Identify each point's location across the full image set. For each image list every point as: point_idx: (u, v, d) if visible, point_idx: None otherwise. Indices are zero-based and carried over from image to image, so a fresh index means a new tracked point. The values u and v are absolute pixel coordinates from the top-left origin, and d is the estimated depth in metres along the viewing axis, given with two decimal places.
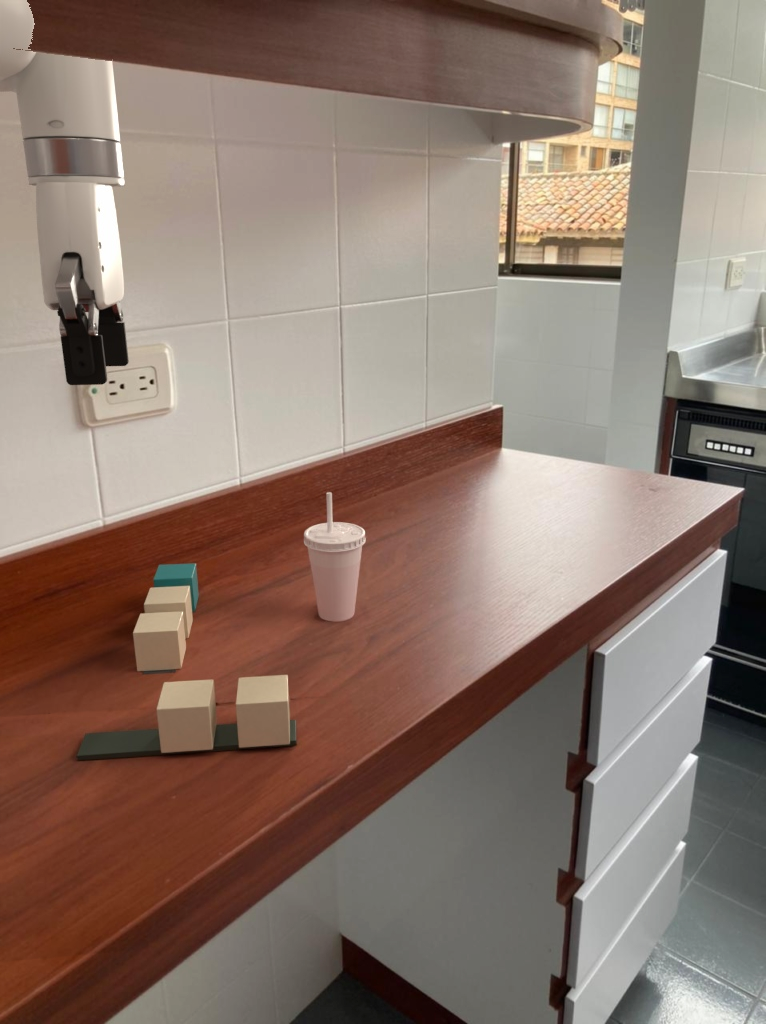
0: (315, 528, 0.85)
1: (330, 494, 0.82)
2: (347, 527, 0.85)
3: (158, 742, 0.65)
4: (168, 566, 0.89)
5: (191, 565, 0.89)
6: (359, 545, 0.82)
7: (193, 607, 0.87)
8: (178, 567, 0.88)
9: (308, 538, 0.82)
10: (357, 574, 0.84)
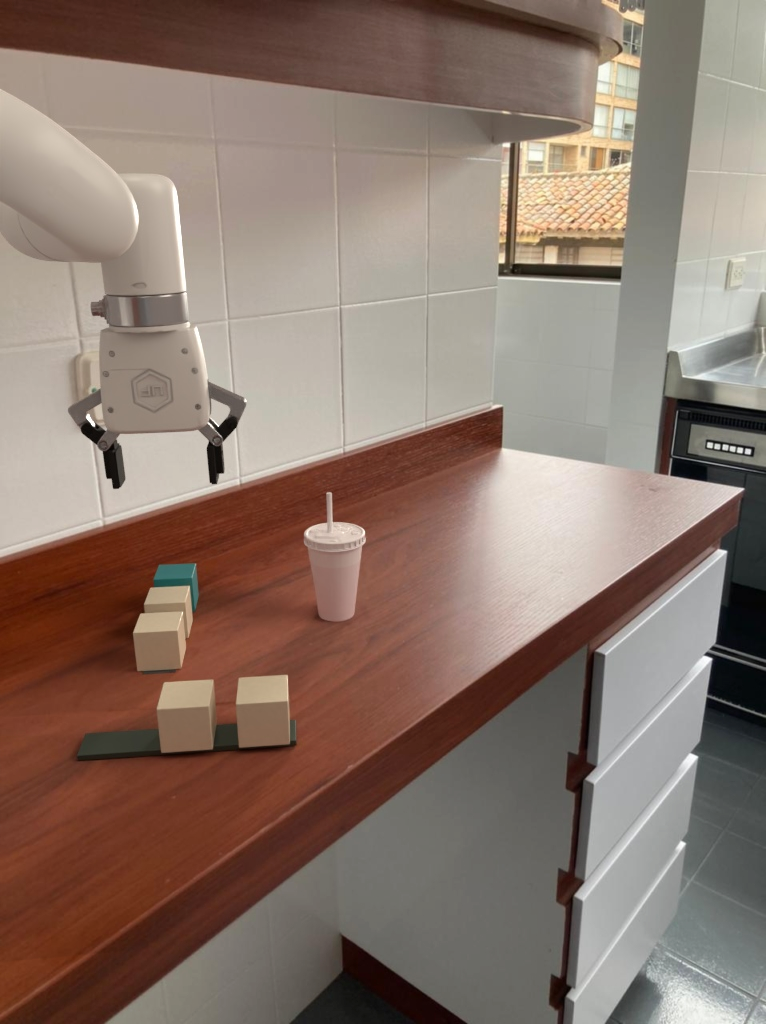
0: (315, 528, 0.85)
1: (330, 494, 0.82)
2: (347, 527, 0.85)
3: (158, 742, 0.65)
4: (168, 566, 0.89)
5: (191, 565, 0.89)
6: (359, 545, 0.82)
7: (193, 607, 0.87)
8: (178, 567, 0.88)
9: (308, 538, 0.82)
10: (357, 574, 0.84)
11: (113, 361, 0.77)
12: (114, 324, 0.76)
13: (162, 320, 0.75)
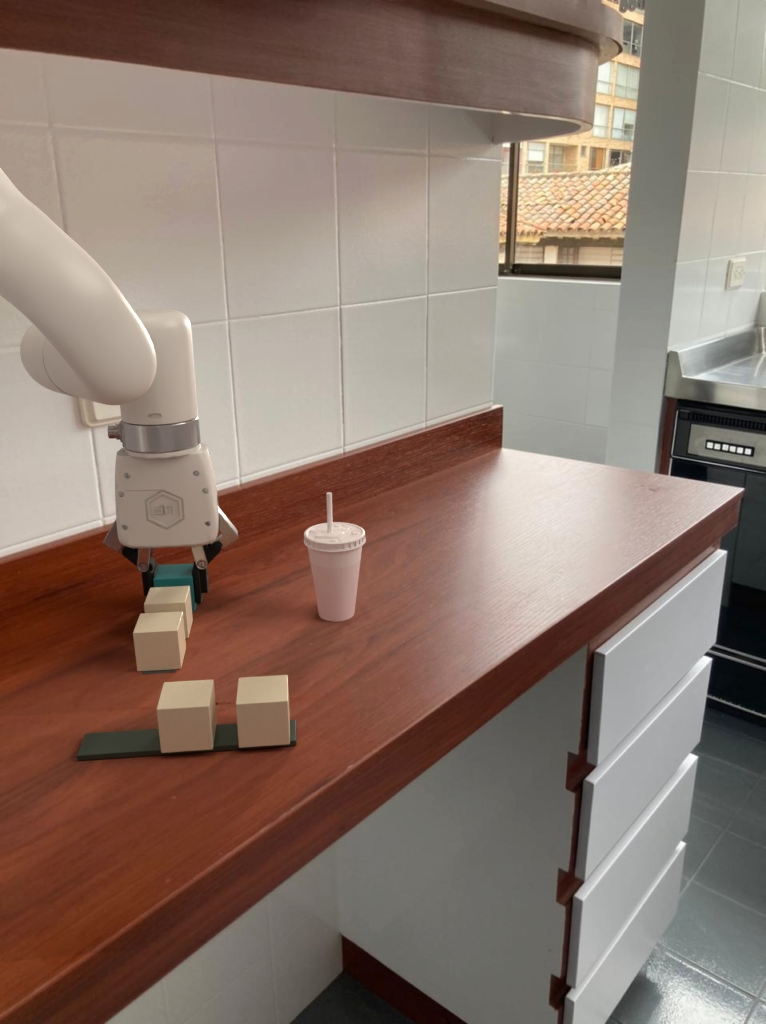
0: (315, 528, 0.85)
1: (330, 494, 0.82)
2: (347, 527, 0.85)
3: (158, 742, 0.65)
4: (168, 566, 0.89)
5: (191, 565, 0.89)
6: (359, 545, 0.82)
7: (193, 607, 0.87)
8: (178, 567, 0.88)
9: (308, 538, 0.82)
10: (358, 574, 0.84)
11: (128, 483, 0.81)
12: (130, 449, 0.80)
13: (175, 446, 0.80)
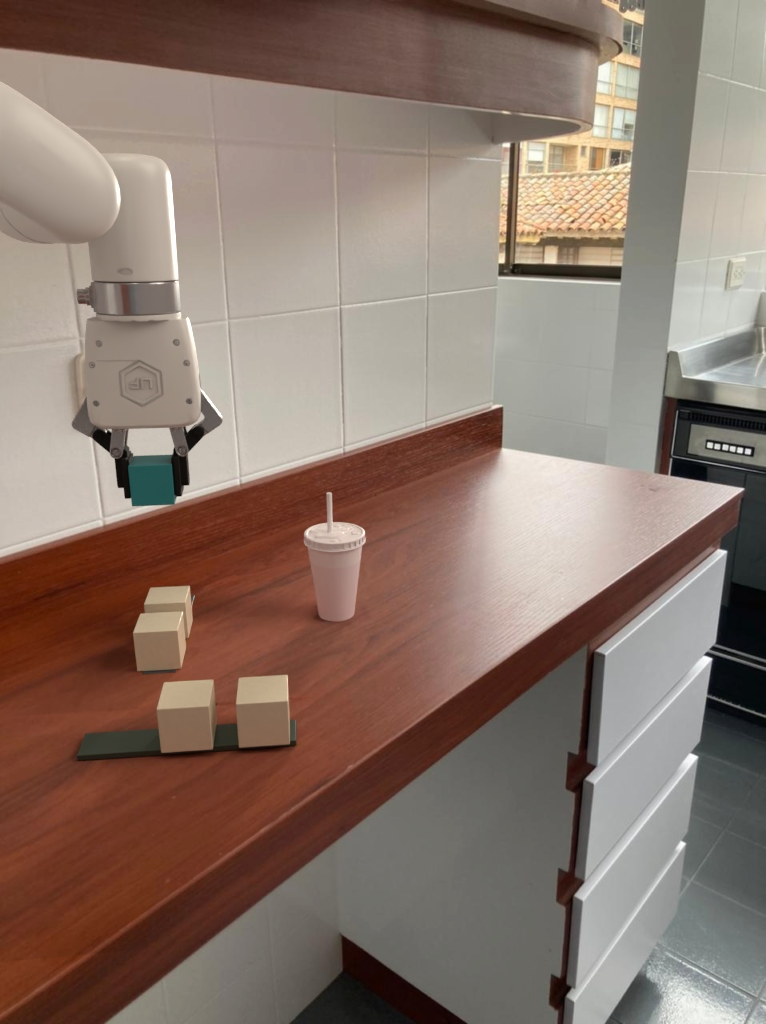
0: (315, 528, 0.85)
1: (330, 494, 0.82)
2: (347, 527, 0.85)
3: (158, 742, 0.65)
4: (144, 456, 0.80)
5: (170, 456, 0.81)
6: (359, 545, 0.82)
7: (172, 499, 0.79)
8: (156, 457, 0.80)
9: (308, 538, 0.82)
10: (357, 574, 0.84)
11: (100, 352, 0.73)
12: (102, 312, 0.72)
13: (153, 309, 0.71)
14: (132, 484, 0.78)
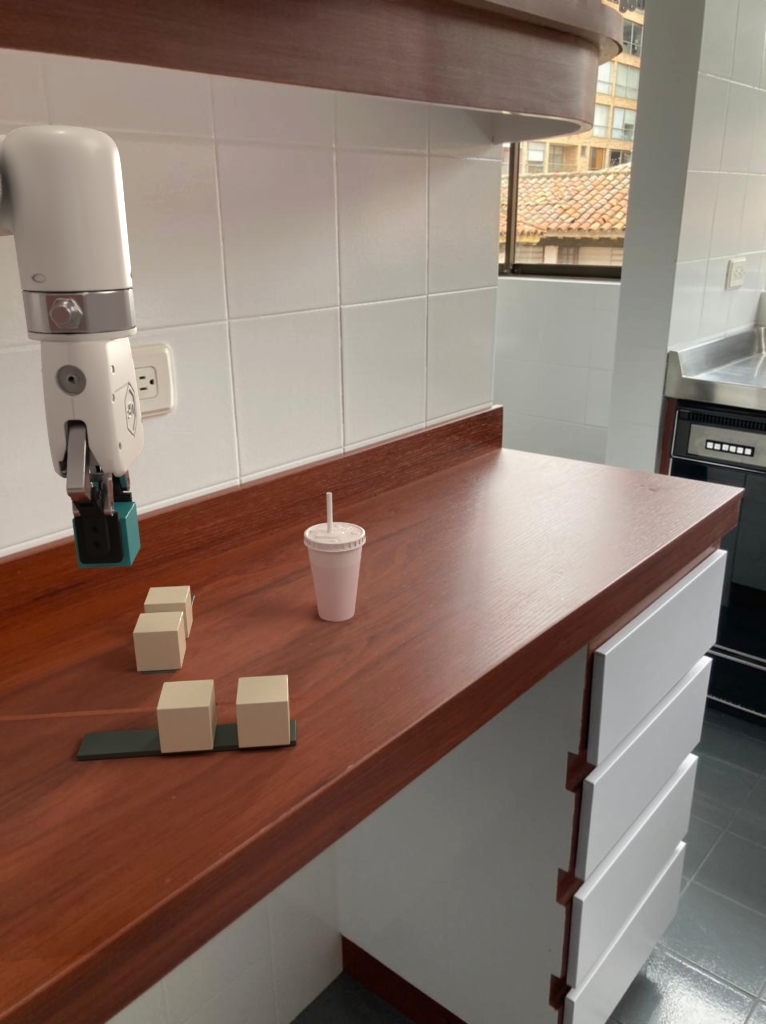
0: (315, 528, 0.85)
1: (330, 494, 0.82)
2: (347, 527, 0.85)
3: (158, 742, 0.65)
4: None
5: None
6: (359, 545, 0.82)
7: (139, 541, 0.67)
8: None
9: (308, 538, 0.82)
10: (357, 574, 0.84)
11: (115, 380, 0.57)
12: (108, 329, 0.57)
13: None
14: (128, 538, 0.63)
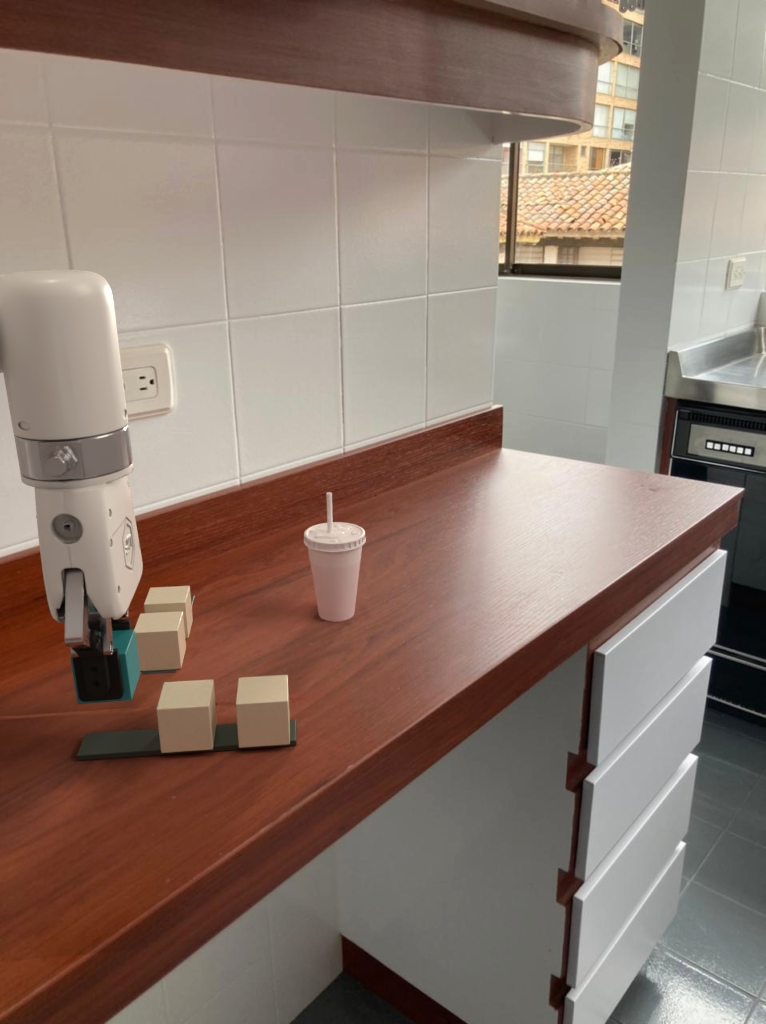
0: (315, 528, 0.85)
1: (330, 494, 0.82)
2: (347, 527, 0.85)
3: (158, 742, 0.65)
4: None
5: None
6: (359, 545, 0.82)
7: (139, 668, 0.65)
8: None
9: (308, 538, 0.82)
10: (358, 574, 0.84)
11: (112, 523, 0.56)
12: (104, 473, 0.55)
13: None
14: (128, 673, 0.61)
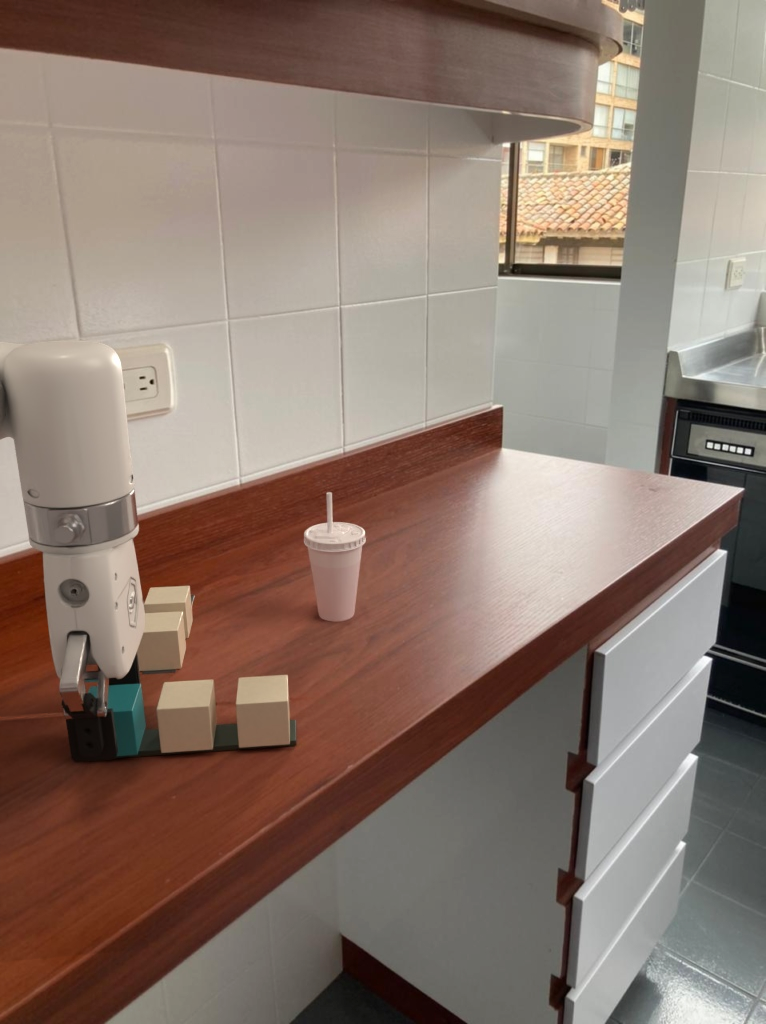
0: (315, 528, 0.85)
1: (330, 494, 0.82)
2: (347, 527, 0.85)
3: (158, 742, 0.65)
4: None
5: (96, 688, 0.65)
6: (359, 545, 0.82)
7: None
8: None
9: (308, 538, 0.82)
10: (358, 574, 0.84)
11: (117, 586, 0.57)
12: (111, 538, 0.57)
13: None
14: (135, 728, 0.63)
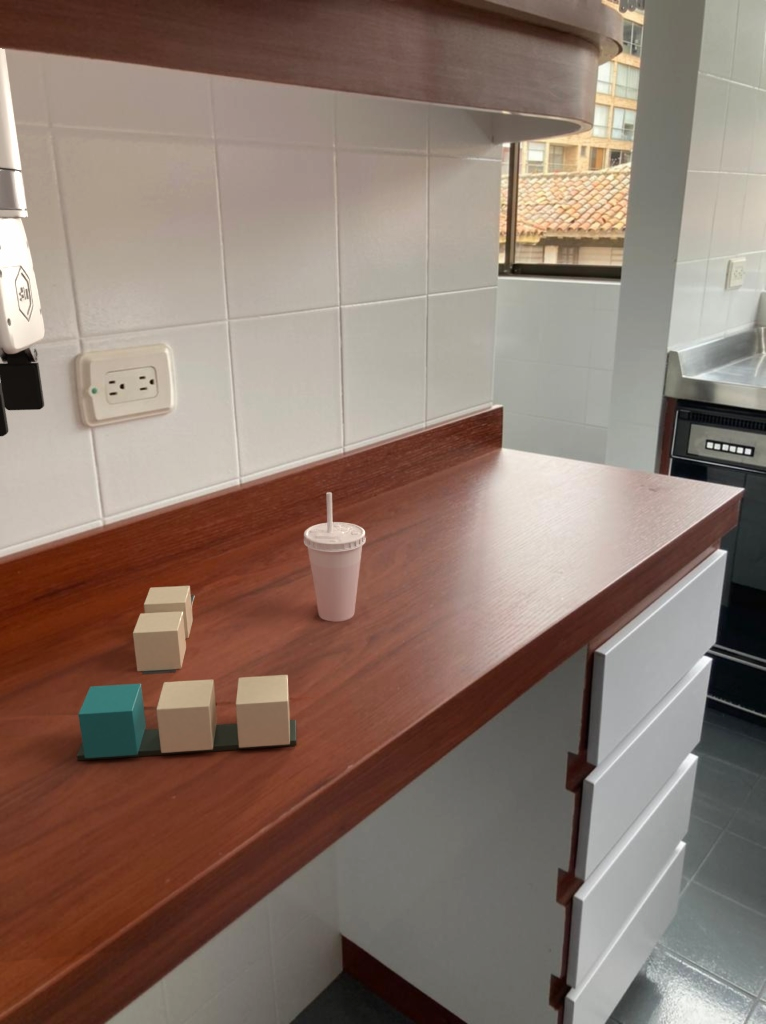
0: (315, 528, 0.85)
1: (330, 494, 0.82)
2: (347, 527, 0.85)
3: (158, 742, 0.65)
4: (89, 705, 0.63)
5: (96, 688, 0.65)
6: (359, 545, 0.82)
7: None
8: (98, 696, 0.64)
9: (308, 538, 0.82)
10: (357, 574, 0.84)
11: (2, 256, 0.60)
12: None
13: None
14: (135, 728, 0.63)
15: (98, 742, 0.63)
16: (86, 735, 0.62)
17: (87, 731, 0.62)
